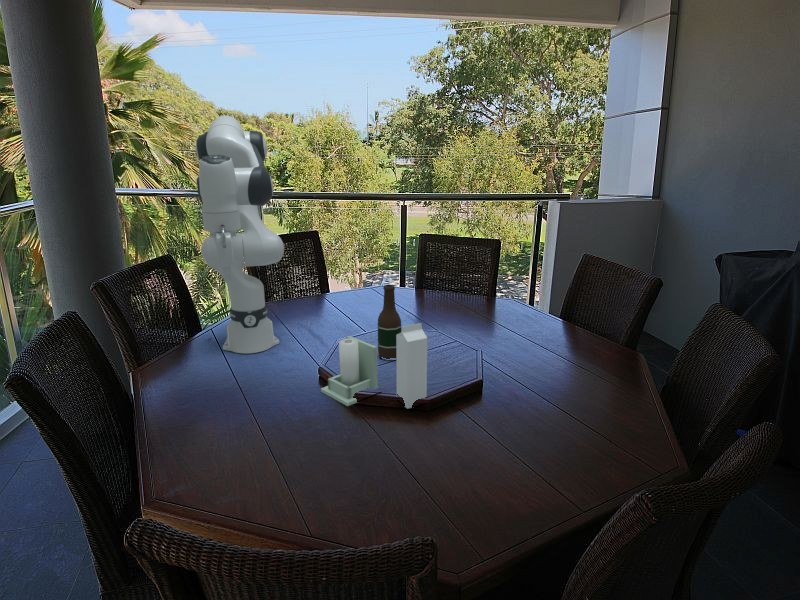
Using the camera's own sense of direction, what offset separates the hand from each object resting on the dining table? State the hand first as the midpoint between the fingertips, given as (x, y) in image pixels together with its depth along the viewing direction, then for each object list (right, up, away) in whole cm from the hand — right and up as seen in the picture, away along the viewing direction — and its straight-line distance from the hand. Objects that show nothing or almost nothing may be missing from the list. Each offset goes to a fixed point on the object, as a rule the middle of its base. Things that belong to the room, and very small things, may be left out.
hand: (227, 276), depth 138 cm
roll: (+31, -31, +12) cm, 45 cm away
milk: (+47, -34, +7) cm, 59 cm away
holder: (+31, -32, +12) cm, 46 cm away
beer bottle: (+41, -25, +37) cm, 61 cm away
